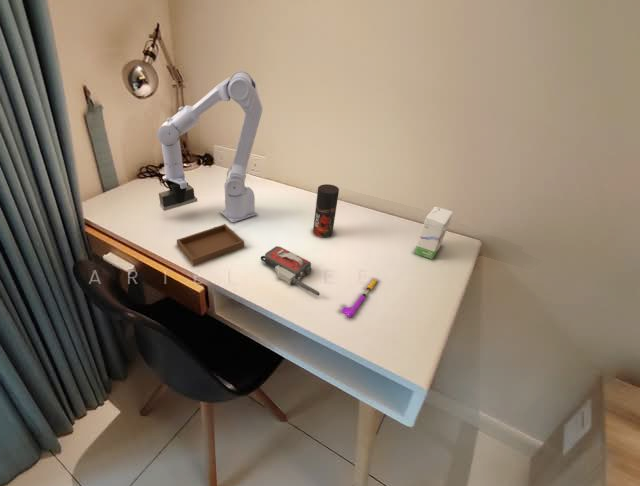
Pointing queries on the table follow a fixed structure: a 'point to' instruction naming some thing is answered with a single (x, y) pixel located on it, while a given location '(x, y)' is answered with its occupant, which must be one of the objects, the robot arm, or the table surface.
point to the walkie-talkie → (288, 266)
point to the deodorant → (325, 210)
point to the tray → (210, 244)
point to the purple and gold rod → (352, 310)
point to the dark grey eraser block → (170, 201)
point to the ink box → (433, 232)
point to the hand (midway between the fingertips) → (178, 200)
